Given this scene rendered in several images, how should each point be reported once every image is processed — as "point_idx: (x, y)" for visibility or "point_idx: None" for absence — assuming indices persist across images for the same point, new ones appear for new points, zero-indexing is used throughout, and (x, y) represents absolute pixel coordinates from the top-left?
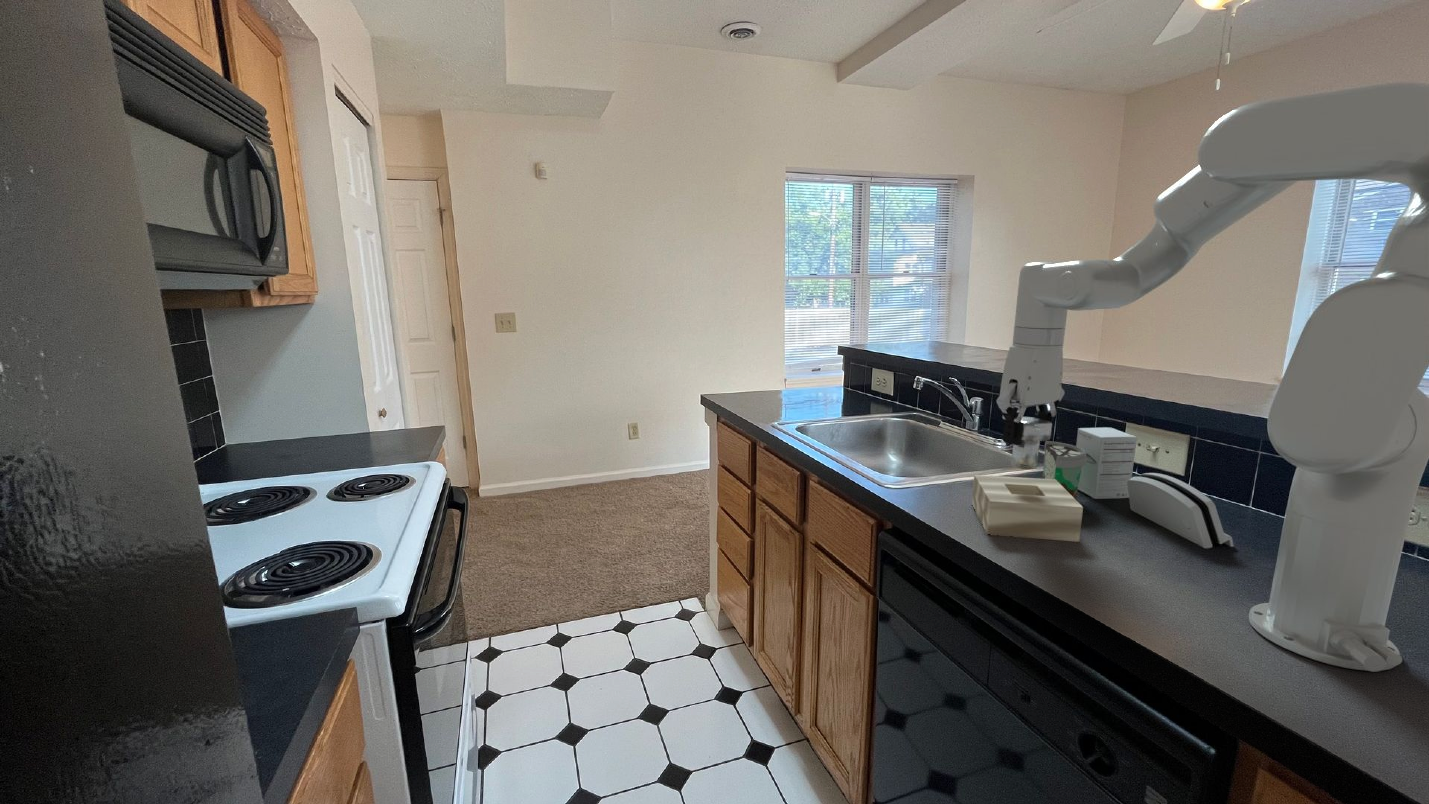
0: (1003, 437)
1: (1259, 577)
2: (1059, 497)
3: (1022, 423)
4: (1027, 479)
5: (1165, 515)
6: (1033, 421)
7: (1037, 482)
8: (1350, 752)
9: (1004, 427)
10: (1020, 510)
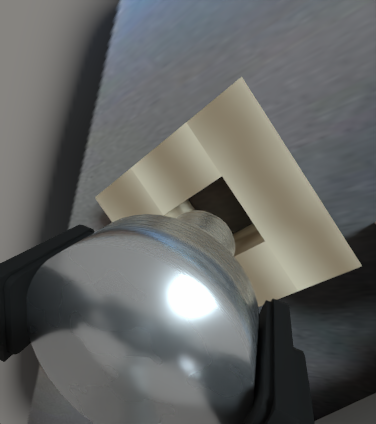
0: (73, 230)
1: None
2: None
3: (1, 355)
4: (305, 208)
5: (370, 416)
6: (145, 381)
7: (294, 236)
8: (34, 421)
9: (34, 250)
10: None
